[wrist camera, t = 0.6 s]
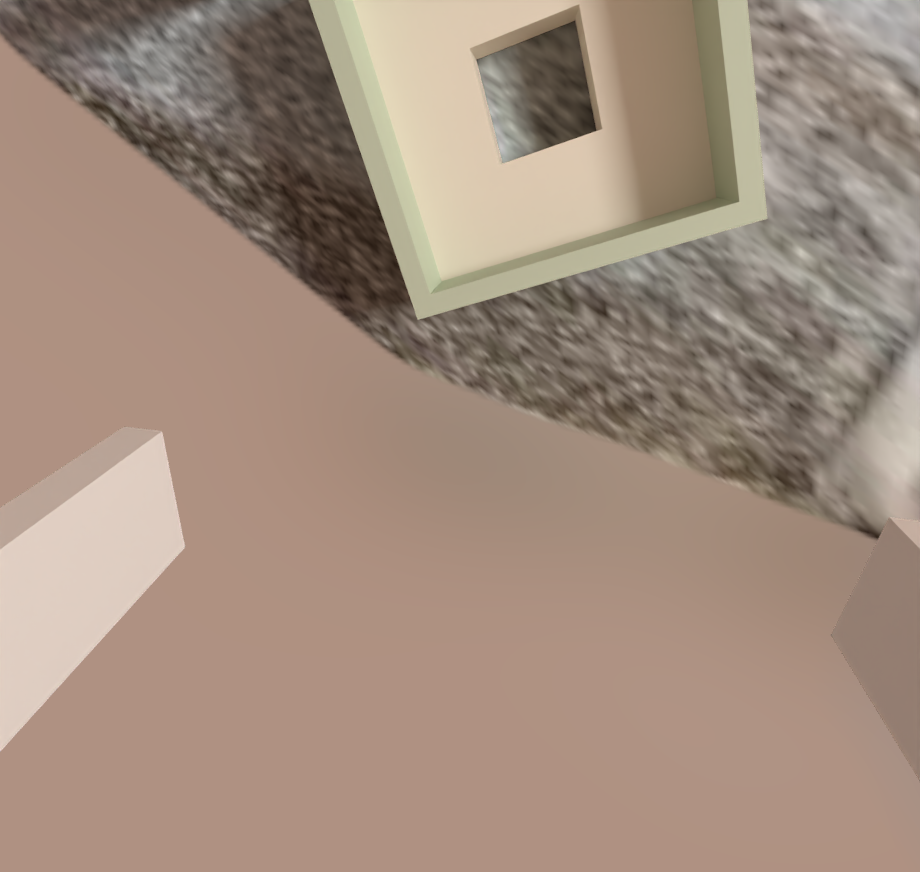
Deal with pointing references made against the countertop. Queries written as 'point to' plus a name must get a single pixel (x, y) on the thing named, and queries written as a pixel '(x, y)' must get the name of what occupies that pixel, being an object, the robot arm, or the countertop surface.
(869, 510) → the countertop surface
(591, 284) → the countertop surface
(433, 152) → the peg box
